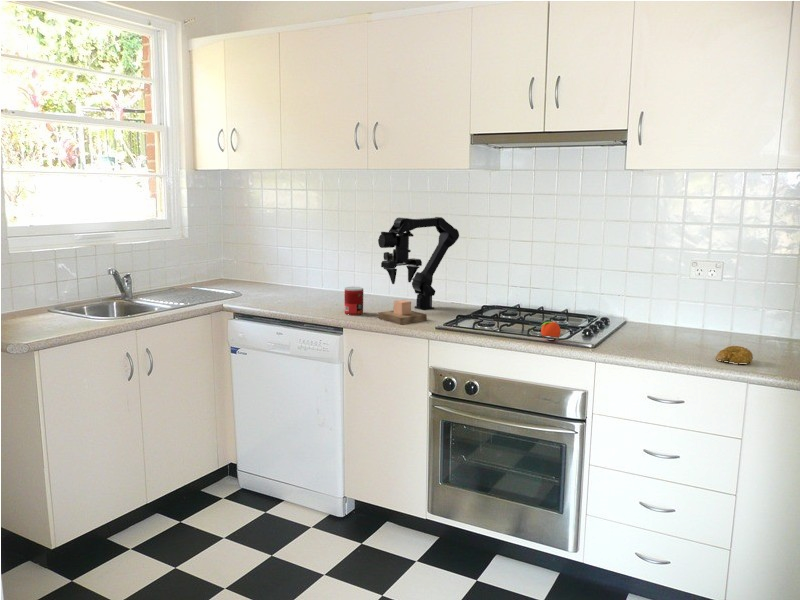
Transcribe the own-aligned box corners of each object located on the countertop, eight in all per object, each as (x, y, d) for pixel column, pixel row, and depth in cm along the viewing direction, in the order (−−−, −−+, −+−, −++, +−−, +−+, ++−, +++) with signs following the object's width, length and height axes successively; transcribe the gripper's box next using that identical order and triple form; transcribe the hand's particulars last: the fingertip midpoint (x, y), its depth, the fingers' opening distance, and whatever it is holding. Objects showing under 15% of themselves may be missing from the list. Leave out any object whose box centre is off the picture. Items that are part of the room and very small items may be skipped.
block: (402, 311, 276) (403, 299, 275) (410, 313, 272) (411, 301, 271) (393, 313, 273) (393, 300, 272) (401, 315, 269) (401, 302, 268)
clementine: (543, 343, 236) (544, 323, 235) (534, 338, 243) (535, 319, 241) (563, 342, 238) (565, 322, 237) (554, 337, 245) (555, 318, 244)
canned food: (360, 316, 278) (360, 289, 276) (342, 314, 280) (342, 288, 278) (365, 312, 286) (365, 287, 284) (347, 311, 287) (347, 286, 285)
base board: (404, 314, 282) (404, 308, 282) (426, 320, 272) (426, 314, 271) (378, 318, 273) (378, 312, 273) (400, 324, 263) (400, 318, 262)
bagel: (709, 357, 221) (711, 343, 221) (744, 358, 221) (745, 344, 220) (722, 365, 212) (723, 350, 211) (758, 366, 211) (759, 352, 210)
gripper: (406, 244, 299) (405, 279, 301) (373, 246, 287) (372, 282, 290) (423, 246, 290) (422, 282, 293) (389, 248, 278) (389, 285, 281)
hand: (401, 283), depth 289 cm, fingers open, 9 cm apart
